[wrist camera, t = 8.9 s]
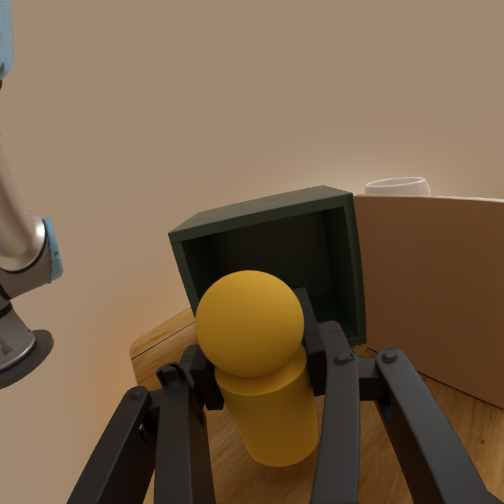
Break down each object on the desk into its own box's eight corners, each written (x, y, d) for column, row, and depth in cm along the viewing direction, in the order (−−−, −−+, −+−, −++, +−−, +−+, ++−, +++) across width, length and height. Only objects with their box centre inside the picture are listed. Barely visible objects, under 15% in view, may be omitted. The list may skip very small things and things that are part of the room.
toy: (249, 476, 12) (173, 315, 9) (240, 421, 16) (185, 271, 13) (330, 454, 12) (310, 279, 9) (308, 403, 16) (279, 247, 14)
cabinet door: (400, 319, 28) (391, 184, 24) (524, 363, 13) (553, 191, 10) (366, 346, 25) (352, 196, 21) (505, 409, 11) (554, 207, 7)
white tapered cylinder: (408, 254, 44) (400, 174, 40) (463, 276, 31) (460, 176, 27) (345, 277, 42) (331, 187, 39) (395, 311, 30) (387, 191, 26)
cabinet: (367, 342, 26) (352, 192, 22) (214, 371, 28) (167, 233, 24) (340, 294, 38) (323, 185, 34) (227, 317, 39) (197, 212, 35)
